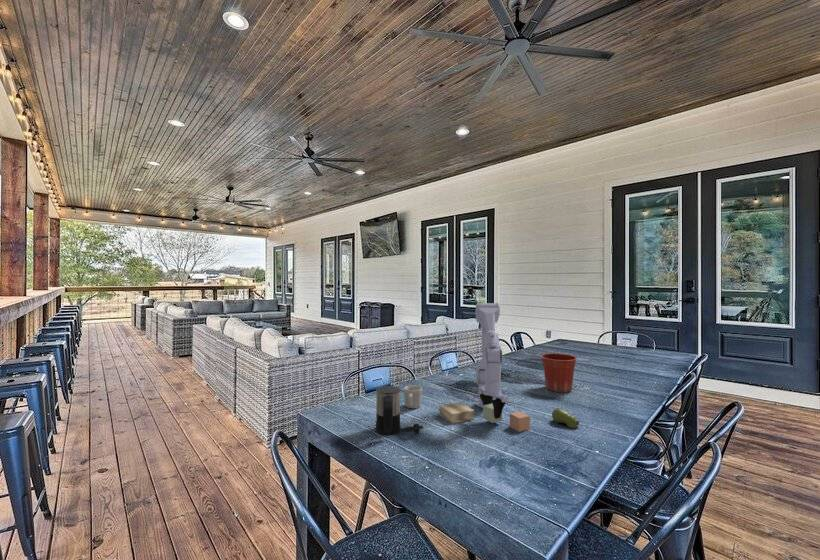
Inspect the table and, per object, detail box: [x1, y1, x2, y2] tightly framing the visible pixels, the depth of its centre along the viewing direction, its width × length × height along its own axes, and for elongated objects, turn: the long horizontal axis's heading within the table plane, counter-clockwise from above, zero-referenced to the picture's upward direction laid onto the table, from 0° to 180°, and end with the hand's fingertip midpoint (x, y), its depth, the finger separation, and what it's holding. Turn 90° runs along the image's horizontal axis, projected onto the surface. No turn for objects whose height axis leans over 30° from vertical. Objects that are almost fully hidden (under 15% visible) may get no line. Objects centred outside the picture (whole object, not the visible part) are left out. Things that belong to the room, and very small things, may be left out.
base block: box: [438, 402, 475, 425], centre depth 147 cm, size 10×10×4 cm
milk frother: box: [375, 385, 424, 435], centre depth 133 cm, size 14×16×15 cm
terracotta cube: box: [509, 411, 531, 433], centre depth 136 cm, size 5×5×5 cm
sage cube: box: [482, 404, 503, 424], centre depth 141 cm, size 5×5×5 cm
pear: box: [551, 407, 580, 429], centre depth 140 cm, size 6×5×10 cm
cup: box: [403, 384, 423, 409], centre depth 157 cm, size 11×8×8 cm
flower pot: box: [540, 352, 578, 393], centre depth 184 cm, size 16×16×16 cm
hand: (492, 415), depth 141 cm, fingers closed on sage cube, 5 cm apart
